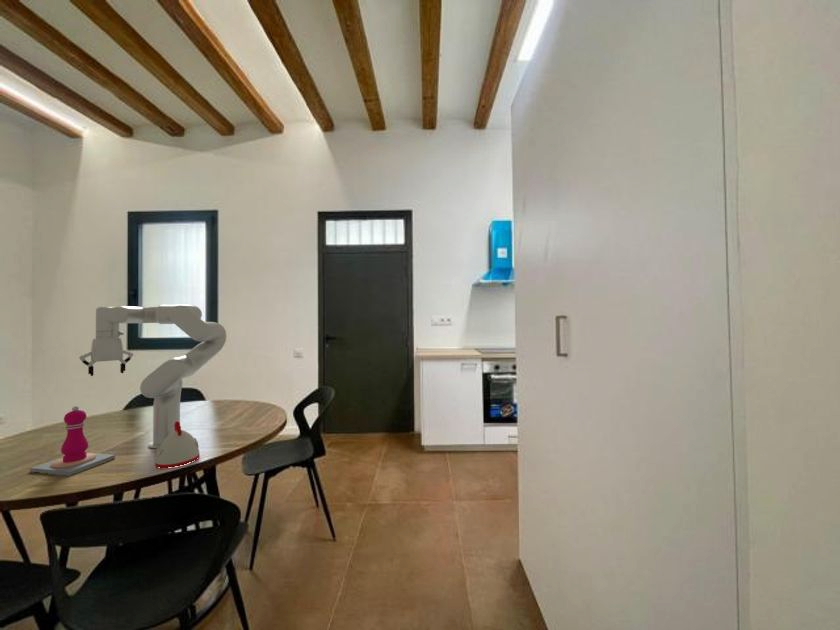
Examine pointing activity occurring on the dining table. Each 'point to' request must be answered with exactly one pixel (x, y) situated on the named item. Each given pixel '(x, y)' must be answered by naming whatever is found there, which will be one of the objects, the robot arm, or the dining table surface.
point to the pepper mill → (74, 436)
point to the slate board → (72, 464)
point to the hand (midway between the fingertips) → (107, 374)
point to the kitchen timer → (177, 449)
